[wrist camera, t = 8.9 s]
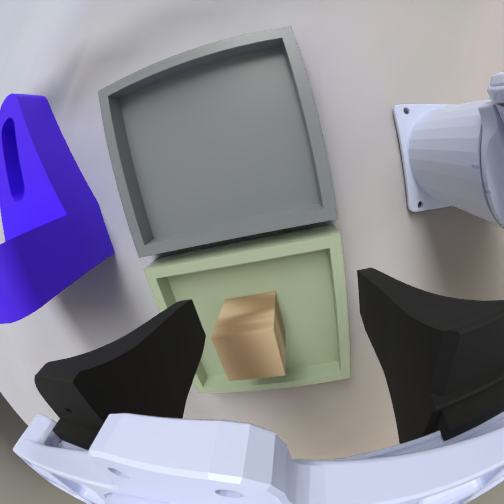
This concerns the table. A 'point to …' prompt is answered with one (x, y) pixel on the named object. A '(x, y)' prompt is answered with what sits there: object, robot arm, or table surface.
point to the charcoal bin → (218, 144)
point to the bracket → (42, 210)
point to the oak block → (250, 337)
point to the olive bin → (261, 281)
